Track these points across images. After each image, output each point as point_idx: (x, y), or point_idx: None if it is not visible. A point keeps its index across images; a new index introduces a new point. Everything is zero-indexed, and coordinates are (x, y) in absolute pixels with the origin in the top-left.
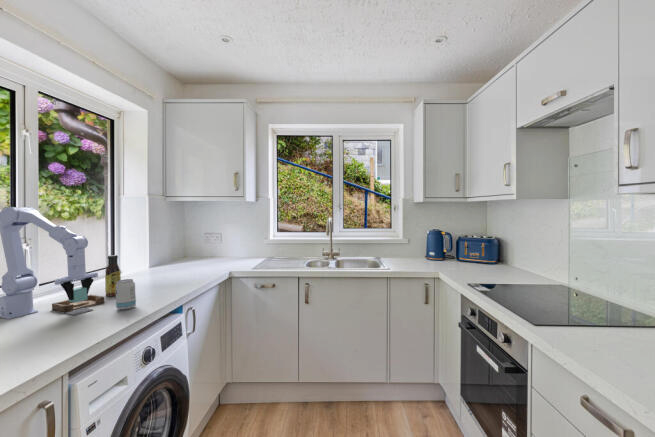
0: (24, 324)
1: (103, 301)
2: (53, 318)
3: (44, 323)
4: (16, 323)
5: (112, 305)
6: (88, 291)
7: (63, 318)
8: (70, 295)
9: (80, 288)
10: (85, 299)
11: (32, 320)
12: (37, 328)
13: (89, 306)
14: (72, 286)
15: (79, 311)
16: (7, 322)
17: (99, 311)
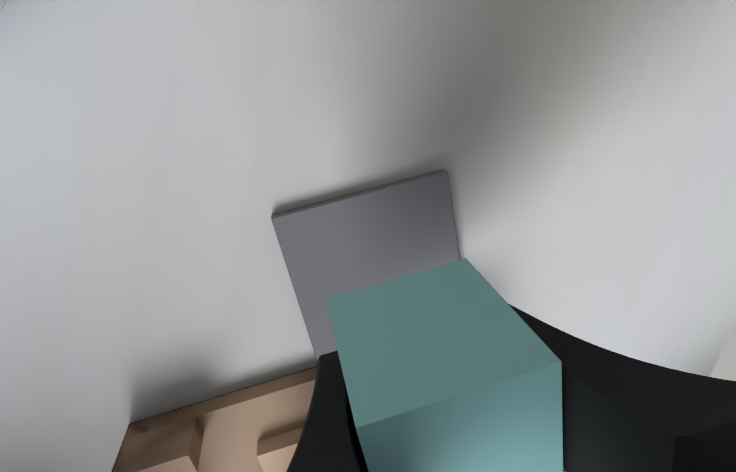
0: (700, 233)
1: (132, 434)
2: (554, 231)
3: (644, 130)
4: (702, 303)
5: (65, 259)
6: (311, 401)
7: (518, 157)
8: (552, 329)
9: (441, 447)
10: (349, 297)
11: (636, 299)
12: (731, 9)
13: (265, 384)
14: (655, 404)
15: (378, 253)
16: (705, 369)
17: (228, 112)
